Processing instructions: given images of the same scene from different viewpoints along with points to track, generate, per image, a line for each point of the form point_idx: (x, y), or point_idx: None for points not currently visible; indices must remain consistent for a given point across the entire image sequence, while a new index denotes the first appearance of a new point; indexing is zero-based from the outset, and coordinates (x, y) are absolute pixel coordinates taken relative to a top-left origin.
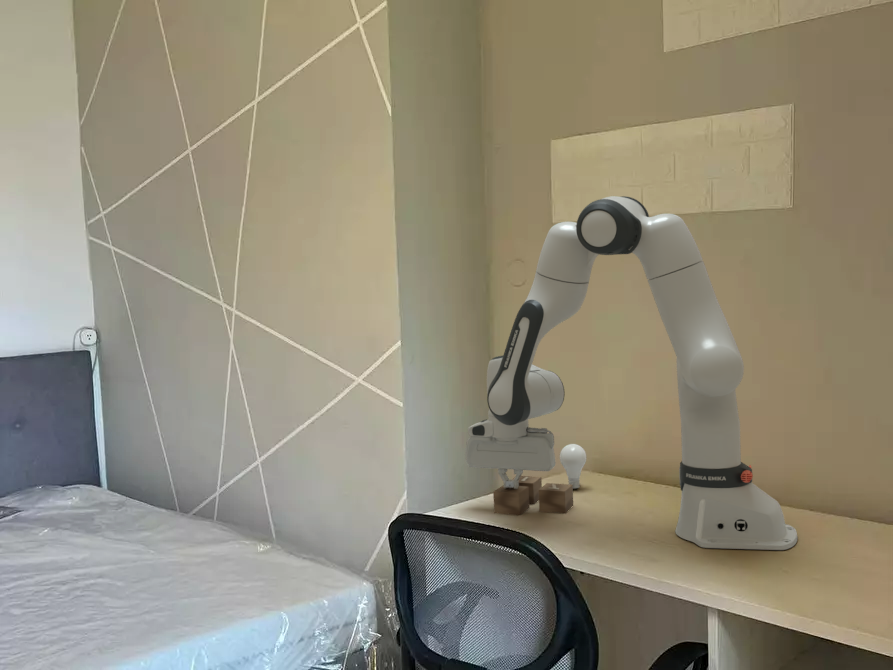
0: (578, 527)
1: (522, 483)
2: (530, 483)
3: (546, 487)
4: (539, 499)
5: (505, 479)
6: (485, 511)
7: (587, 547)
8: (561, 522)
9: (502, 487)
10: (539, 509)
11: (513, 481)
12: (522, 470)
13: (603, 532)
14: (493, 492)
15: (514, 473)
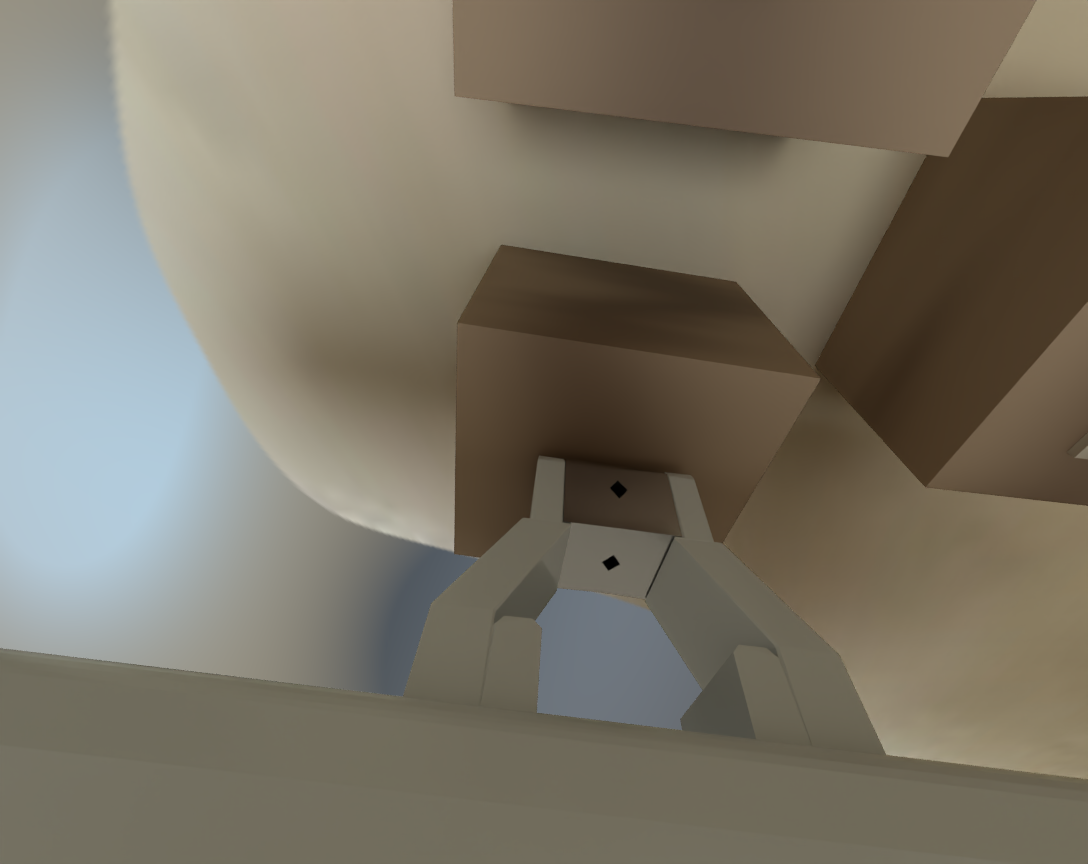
0: (983, 594)
1: (734, 128)
2: (893, 148)
3: (1079, 398)
4: (870, 420)
5: (545, 600)
6: (414, 405)
7: (924, 720)
8: (915, 544)
9: (488, 437)
10: (823, 373)
11: (651, 602)
12: (847, 711)
13: (1080, 634)
14: (457, 547)
15: (690, 723)
